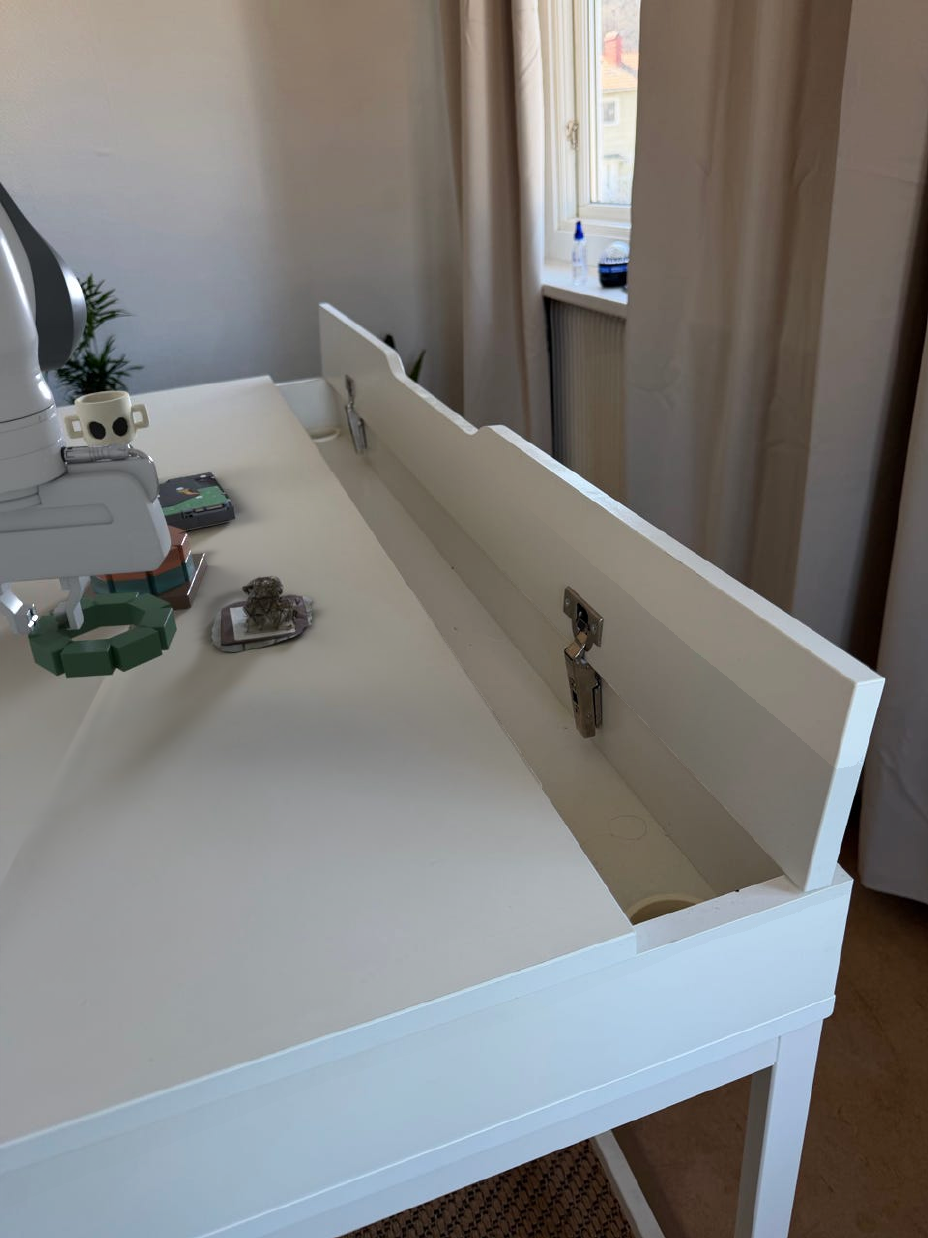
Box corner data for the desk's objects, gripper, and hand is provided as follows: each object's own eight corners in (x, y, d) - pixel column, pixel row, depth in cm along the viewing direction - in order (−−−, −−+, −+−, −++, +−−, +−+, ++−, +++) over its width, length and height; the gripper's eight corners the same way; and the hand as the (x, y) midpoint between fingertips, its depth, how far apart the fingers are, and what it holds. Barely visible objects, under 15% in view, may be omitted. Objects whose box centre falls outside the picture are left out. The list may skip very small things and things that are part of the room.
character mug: (83, 502, 129) (58, 408, 123) (83, 487, 135) (59, 397, 129) (165, 488, 132) (144, 395, 126) (161, 474, 138) (141, 385, 132)
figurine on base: (275, 573, 100) (330, 557, 92) (291, 632, 100) (347, 622, 92) (170, 599, 92) (219, 585, 84) (188, 663, 93) (239, 655, 84)
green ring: (18, 681, 68) (11, 657, 67) (60, 618, 77) (54, 596, 76) (159, 672, 68) (154, 648, 67) (185, 611, 77) (180, 588, 76)
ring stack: (82, 618, 96) (58, 536, 92) (108, 574, 106) (88, 498, 102) (191, 607, 96) (172, 525, 92) (207, 565, 106) (191, 489, 102)
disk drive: (138, 505, 127) (154, 539, 114) (133, 485, 126) (149, 517, 113) (215, 489, 130) (238, 521, 118) (211, 470, 129) (234, 499, 117)
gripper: (159, 428, 69) (194, 599, 75) (-130, 450, 68) (-70, 621, 74) (140, 454, 63) (179, 636, 69) (-175, 478, 62) (-106, 660, 68)
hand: (49, 628), depth 72 cm, fingers closed on green ring, 2 cm apart
